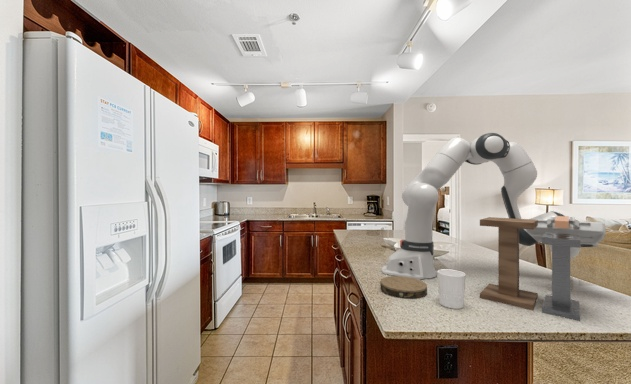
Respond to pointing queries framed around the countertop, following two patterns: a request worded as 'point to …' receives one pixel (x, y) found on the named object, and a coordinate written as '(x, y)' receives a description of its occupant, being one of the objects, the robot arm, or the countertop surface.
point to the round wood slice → (403, 287)
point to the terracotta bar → (562, 222)
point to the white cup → (451, 288)
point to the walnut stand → (509, 264)
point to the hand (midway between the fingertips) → (562, 218)
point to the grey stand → (561, 276)
